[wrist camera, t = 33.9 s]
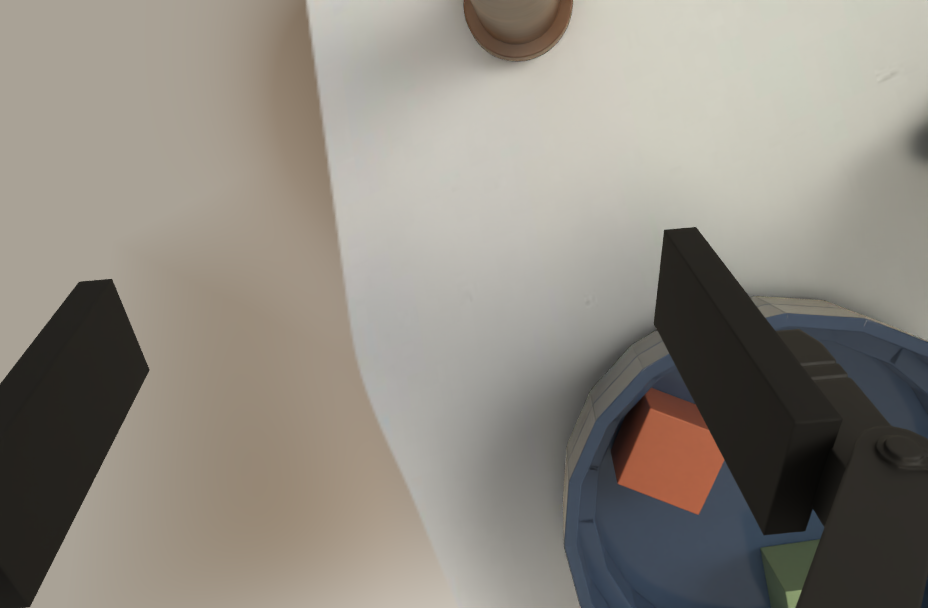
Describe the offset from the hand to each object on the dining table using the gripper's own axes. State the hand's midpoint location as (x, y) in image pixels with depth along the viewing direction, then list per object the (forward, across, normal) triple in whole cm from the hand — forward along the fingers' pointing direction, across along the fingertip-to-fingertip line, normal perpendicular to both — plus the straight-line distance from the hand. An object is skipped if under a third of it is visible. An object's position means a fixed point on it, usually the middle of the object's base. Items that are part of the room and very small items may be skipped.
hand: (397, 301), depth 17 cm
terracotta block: (+11, +12, -16) cm, 23 cm away
